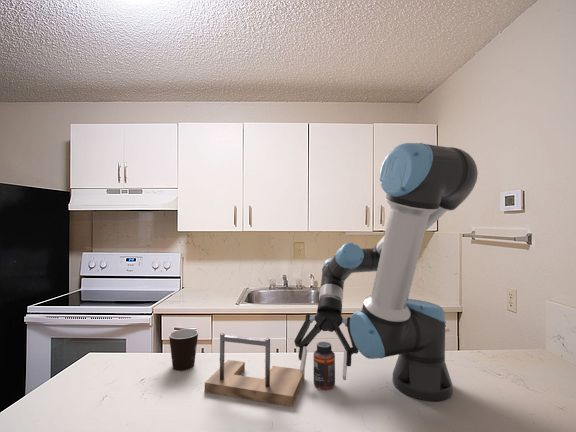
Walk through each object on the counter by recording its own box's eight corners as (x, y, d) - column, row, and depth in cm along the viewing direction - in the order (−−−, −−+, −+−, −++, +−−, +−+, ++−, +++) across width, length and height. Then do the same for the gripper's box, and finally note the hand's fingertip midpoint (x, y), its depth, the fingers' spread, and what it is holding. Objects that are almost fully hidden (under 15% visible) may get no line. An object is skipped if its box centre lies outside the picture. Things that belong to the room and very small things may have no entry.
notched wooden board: (304, 378, 89) (304, 369, 89) (292, 406, 76) (292, 396, 76) (228, 367, 96) (228, 359, 96) (204, 392, 82) (204, 382, 82)
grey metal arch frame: (270, 384, 81) (270, 338, 81) (268, 387, 80) (269, 340, 80) (220, 377, 85) (221, 333, 85) (218, 379, 84) (219, 334, 84)
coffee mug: (189, 374, 92) (189, 339, 92) (162, 371, 93) (163, 337, 94) (207, 357, 103) (207, 326, 103) (183, 354, 105) (183, 324, 105)
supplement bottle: (337, 382, 87) (337, 342, 88) (331, 393, 82) (331, 350, 82) (317, 378, 90) (317, 338, 90) (310, 388, 84) (310, 346, 85)
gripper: (368, 311, 98) (367, 386, 83) (296, 305, 104) (283, 374, 89) (368, 298, 93) (367, 375, 78) (292, 293, 99) (278, 364, 84)
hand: (322, 375), depth 83 cm, fingers open, 11 cm apart
